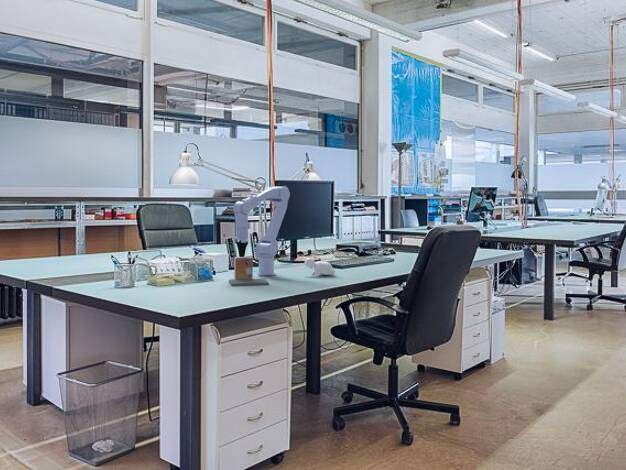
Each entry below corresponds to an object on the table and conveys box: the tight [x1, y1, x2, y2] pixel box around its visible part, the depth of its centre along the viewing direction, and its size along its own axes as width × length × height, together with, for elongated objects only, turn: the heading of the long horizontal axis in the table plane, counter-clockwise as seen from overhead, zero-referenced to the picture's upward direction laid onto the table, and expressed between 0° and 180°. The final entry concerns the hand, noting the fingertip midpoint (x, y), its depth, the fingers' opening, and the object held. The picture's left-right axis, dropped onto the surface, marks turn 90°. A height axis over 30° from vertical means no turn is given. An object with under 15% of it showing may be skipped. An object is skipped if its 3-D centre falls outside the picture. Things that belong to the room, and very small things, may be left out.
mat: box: [228, 278, 270, 287], centre depth 257 cm, size 12×16×1 cm
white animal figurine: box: [304, 257, 336, 278], centre depth 282 cm, size 9×8×15 cm
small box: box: [233, 256, 254, 279], centre depth 266 cm, size 8×6×10 cm
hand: (241, 257), depth 272 cm, fingers closed
